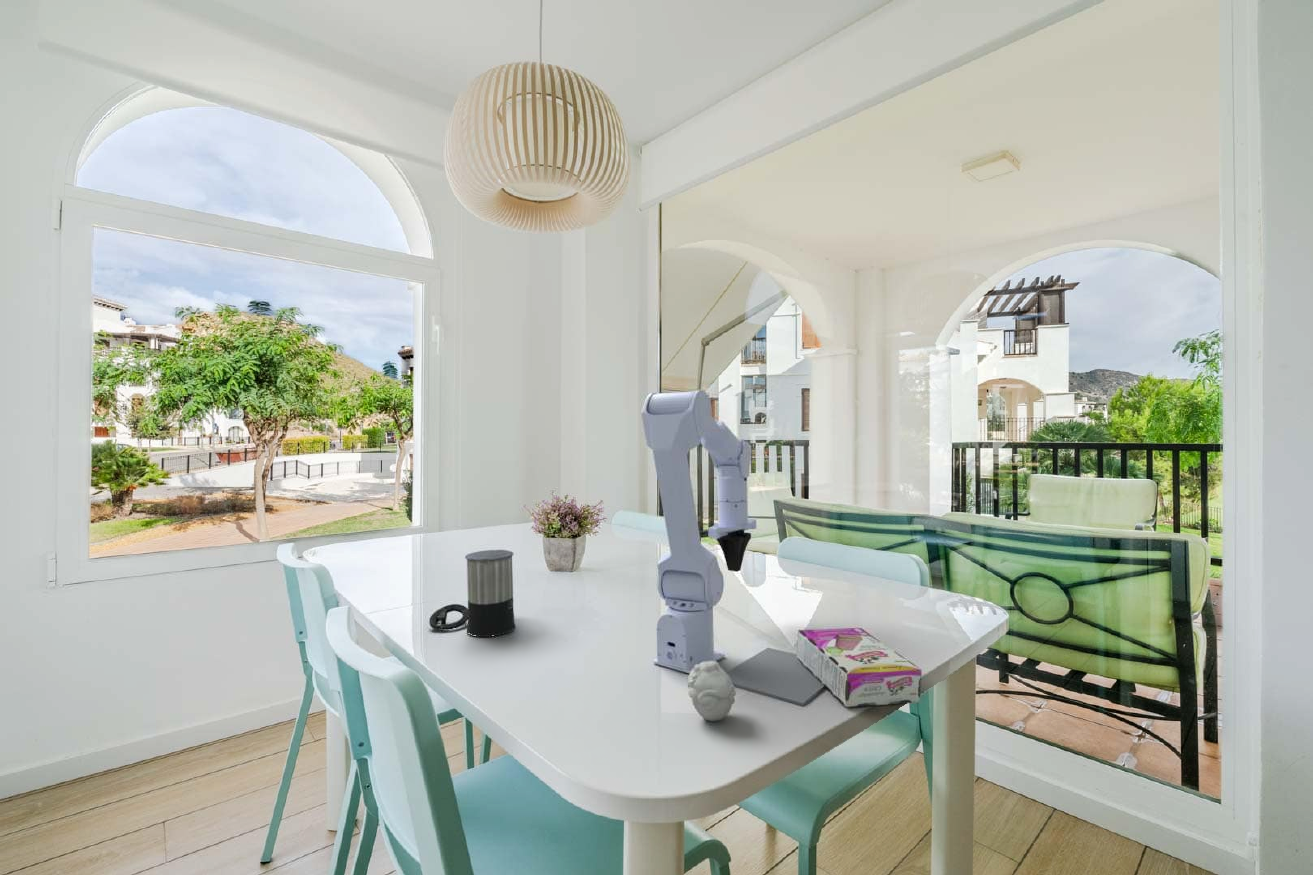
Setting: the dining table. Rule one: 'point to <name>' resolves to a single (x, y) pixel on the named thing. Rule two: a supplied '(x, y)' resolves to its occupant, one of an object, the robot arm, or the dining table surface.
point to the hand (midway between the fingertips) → (734, 570)
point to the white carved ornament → (711, 690)
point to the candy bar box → (858, 667)
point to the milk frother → (484, 596)
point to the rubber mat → (777, 677)
